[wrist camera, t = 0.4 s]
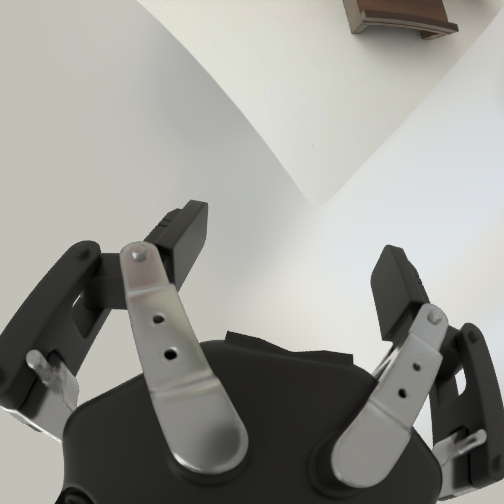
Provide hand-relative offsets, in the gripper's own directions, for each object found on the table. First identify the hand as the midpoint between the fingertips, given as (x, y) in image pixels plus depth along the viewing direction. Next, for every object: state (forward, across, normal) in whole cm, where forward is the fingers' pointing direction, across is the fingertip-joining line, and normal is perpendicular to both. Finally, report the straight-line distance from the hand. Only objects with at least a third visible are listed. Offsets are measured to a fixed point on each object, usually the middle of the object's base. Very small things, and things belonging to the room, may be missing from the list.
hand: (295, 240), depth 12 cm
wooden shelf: (+28, -8, -23) cm, 37 cm away
